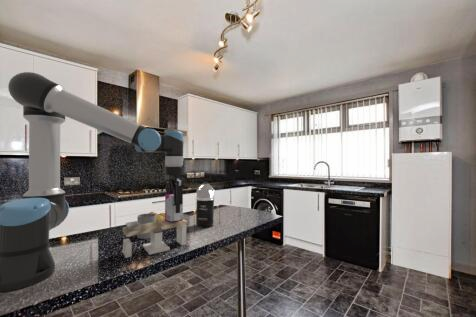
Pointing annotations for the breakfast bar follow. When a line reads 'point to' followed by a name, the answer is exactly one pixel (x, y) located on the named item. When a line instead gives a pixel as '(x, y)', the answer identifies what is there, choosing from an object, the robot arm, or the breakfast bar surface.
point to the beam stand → (155, 242)
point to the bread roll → (159, 216)
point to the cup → (144, 220)
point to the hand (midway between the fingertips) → (173, 218)
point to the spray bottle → (205, 205)
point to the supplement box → (171, 208)
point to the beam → (150, 227)
